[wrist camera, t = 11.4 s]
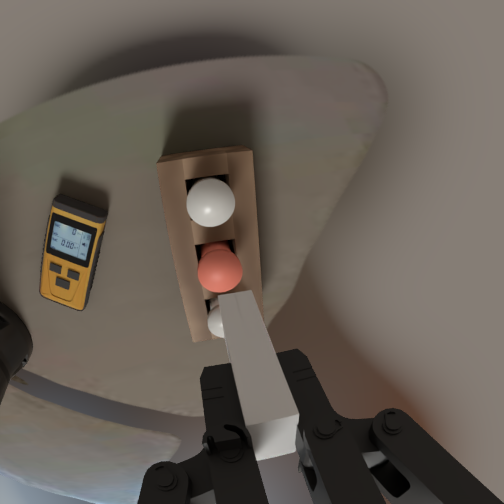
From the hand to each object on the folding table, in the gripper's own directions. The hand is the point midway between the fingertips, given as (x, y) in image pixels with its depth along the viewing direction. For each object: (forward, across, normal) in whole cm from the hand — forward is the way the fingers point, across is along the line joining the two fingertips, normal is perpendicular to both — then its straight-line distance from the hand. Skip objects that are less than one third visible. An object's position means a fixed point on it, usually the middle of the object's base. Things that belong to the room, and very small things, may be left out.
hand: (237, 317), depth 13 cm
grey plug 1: (+25, 0, 0) cm, 25 cm away
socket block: (+26, 0, -8) cm, 27 cm away
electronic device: (+27, -20, -6) cm, 34 cm away
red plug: (+25, 0, -7) cm, 26 cm away
